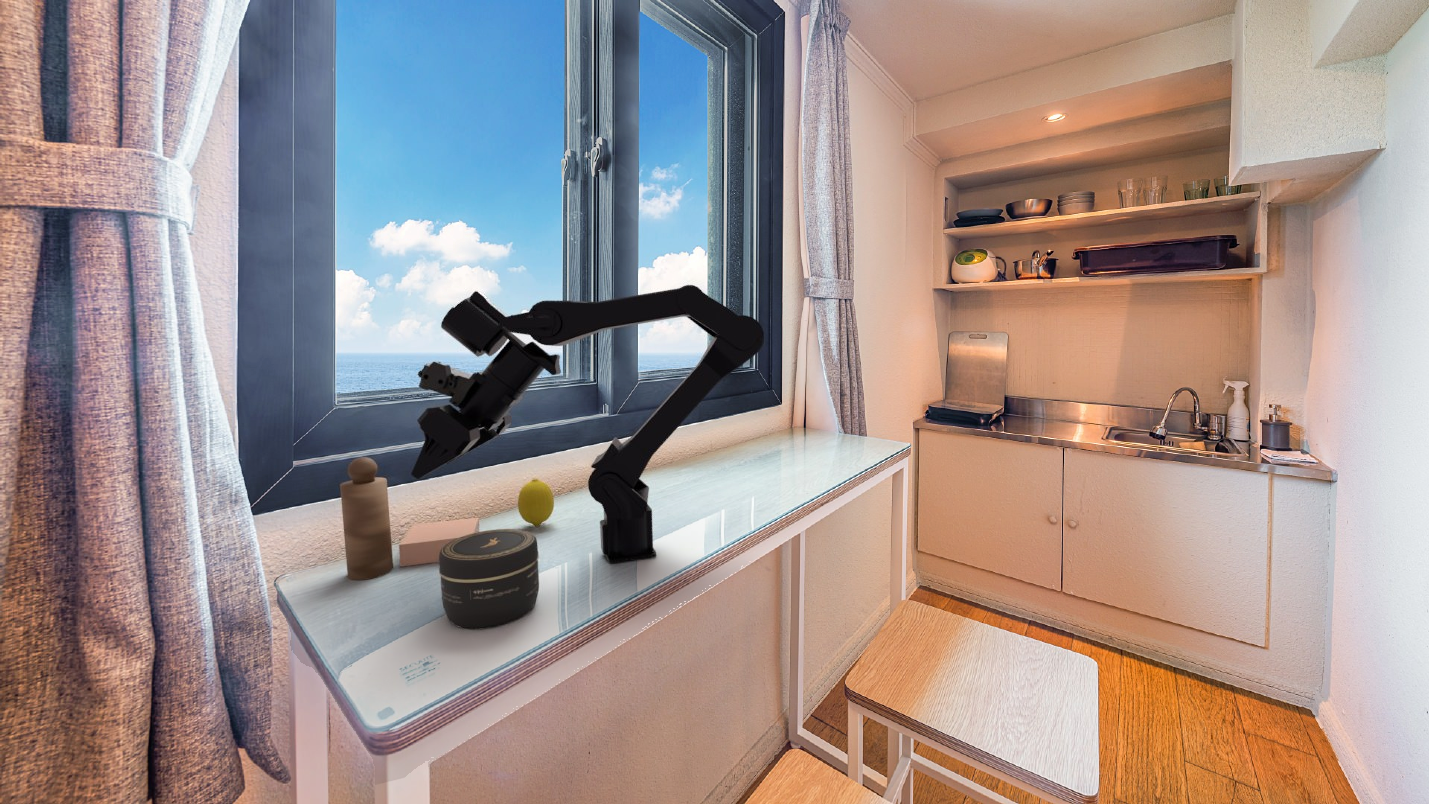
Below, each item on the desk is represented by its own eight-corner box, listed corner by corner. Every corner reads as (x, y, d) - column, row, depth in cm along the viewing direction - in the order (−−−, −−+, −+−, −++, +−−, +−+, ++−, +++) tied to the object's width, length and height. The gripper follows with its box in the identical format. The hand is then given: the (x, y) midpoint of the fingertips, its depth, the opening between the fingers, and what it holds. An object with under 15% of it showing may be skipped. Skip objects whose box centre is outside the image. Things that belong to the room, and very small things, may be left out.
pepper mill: (397, 562, 72) (389, 452, 71) (388, 576, 68) (379, 459, 66) (354, 567, 71) (345, 455, 69) (342, 582, 66) (332, 462, 65)
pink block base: (479, 536, 82) (478, 517, 82) (474, 557, 74) (472, 536, 73) (414, 544, 79) (412, 524, 79) (400, 566, 71) (398, 544, 70)
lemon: (560, 521, 89) (558, 474, 88) (546, 532, 83) (544, 482, 82) (528, 521, 89) (526, 474, 89) (513, 532, 84) (510, 482, 83)
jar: (539, 583, 65) (536, 523, 64) (543, 622, 55) (539, 551, 55) (448, 598, 61) (444, 534, 61) (436, 642, 52) (431, 566, 51)
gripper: (480, 341, 79) (412, 421, 79) (425, 337, 60) (336, 442, 60) (540, 389, 80) (473, 468, 80) (504, 400, 62) (418, 502, 62)
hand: (430, 468), depth 70 cm, fingers open, 9 cm apart
